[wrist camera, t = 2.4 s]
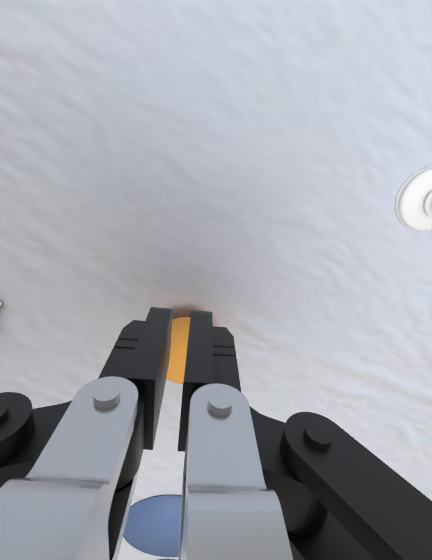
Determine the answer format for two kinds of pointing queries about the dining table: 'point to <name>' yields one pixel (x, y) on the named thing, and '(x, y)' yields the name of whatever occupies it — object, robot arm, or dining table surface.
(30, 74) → the dining table surface
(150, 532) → the disc
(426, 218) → the chess piece
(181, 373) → the ball
